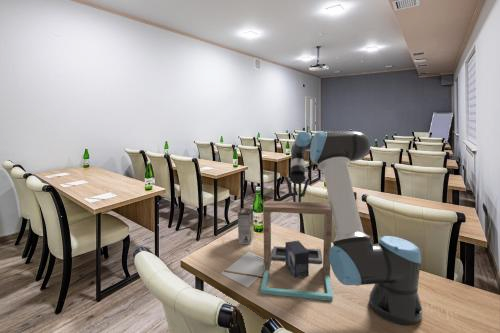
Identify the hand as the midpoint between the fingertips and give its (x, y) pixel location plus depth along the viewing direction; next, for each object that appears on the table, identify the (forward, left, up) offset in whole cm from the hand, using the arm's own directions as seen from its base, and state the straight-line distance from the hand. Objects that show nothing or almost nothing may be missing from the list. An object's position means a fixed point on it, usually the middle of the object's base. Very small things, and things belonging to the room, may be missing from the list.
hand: (296, 208), depth 131 cm
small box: (-24, 0, -19) cm, 30 cm away
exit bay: (-34, 0, -19) cm, 38 cm away
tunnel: (-24, 0, -19) cm, 30 cm away
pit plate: (-12, 0, -19) cm, 22 cm away
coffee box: (0, +26, -19) cm, 32 cm away
